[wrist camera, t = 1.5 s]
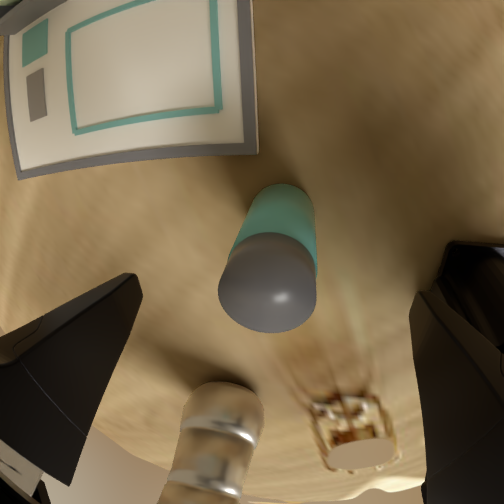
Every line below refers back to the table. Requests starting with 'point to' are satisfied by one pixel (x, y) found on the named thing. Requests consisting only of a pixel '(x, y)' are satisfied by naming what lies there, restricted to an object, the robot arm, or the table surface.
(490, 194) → the table surface
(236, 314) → the teal cylinder
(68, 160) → the activity board
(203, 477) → the plastic bottle
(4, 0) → the key
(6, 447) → the robot arm
